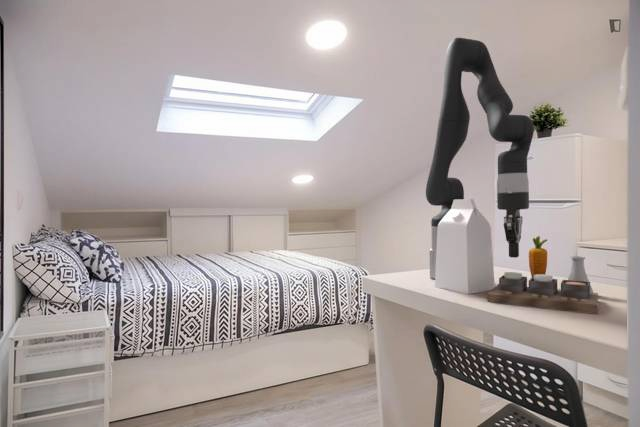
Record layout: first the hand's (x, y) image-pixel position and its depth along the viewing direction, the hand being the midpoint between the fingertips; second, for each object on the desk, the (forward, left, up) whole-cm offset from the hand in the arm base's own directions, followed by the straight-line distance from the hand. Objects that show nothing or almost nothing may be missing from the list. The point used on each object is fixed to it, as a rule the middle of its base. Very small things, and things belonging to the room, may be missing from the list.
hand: (513, 257), depth 108 cm
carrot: (+4, +16, -11) cm, 20 cm away
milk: (-14, +5, -11) cm, 18 cm away
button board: (+7, -2, -10) cm, 13 cm away
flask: (+14, +12, -11) cm, 21 cm away
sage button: (0, 0, -6) cm, 6 cm away
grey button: (+7, 0, -6) cm, 9 cm away
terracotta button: (+14, 0, -7) cm, 16 cm away
